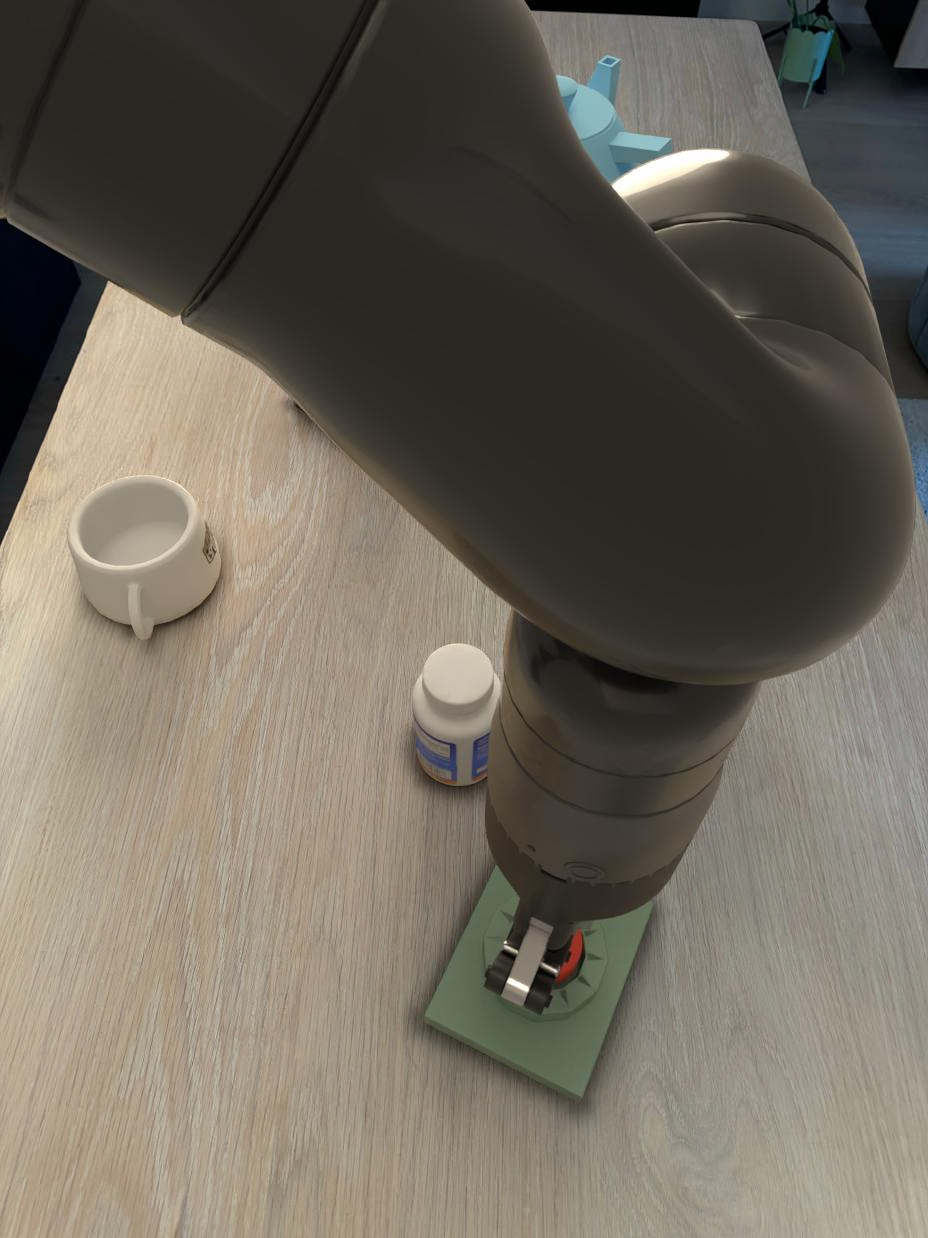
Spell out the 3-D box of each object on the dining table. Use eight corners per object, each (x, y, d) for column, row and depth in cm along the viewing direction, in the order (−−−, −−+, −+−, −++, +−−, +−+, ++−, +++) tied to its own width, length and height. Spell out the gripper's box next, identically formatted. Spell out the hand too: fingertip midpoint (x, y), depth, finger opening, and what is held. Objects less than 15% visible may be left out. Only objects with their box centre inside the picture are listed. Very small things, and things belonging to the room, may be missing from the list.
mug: (91, 531, 70) (64, 475, 65) (223, 517, 71) (206, 461, 66) (78, 667, 64) (46, 617, 59) (223, 651, 65) (204, 599, 60)
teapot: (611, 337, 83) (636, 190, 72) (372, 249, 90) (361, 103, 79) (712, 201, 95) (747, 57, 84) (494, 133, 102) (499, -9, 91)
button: (563, 998, 49) (566, 989, 48) (500, 966, 50) (501, 957, 48) (589, 934, 51) (592, 924, 49) (527, 905, 52) (529, 895, 50)
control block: (578, 1103, 49) (586, 1093, 46) (424, 1023, 51) (422, 1008, 48) (649, 912, 55) (660, 892, 52) (507, 847, 57) (510, 824, 54)
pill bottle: (491, 707, 62) (497, 624, 54) (508, 782, 59) (516, 706, 51) (410, 719, 62) (403, 637, 54) (422, 795, 59) (417, 721, 51)
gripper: (568, 592, 37) (537, 781, 51) (410, 898, 30) (425, 1017, 44) (757, 664, 35) (670, 839, 49) (635, 1007, 28) (575, 1094, 42)
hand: (554, 923), depth 47 cm, fingers closed
